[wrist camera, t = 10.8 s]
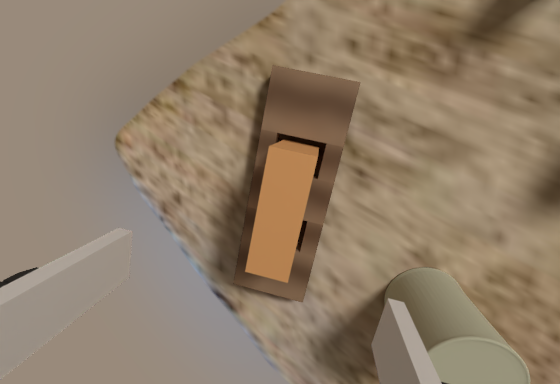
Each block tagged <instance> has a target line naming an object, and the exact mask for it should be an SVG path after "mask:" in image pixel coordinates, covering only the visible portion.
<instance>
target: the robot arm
mask: <svg viewBox="0 0 560 384" xmlns="http://www.w3.org/2000/svg"><path fill="white" fill-rule="evenodd" d="M131 245H132V231H130V230H126V229H122V228H117V229H115V230H113V231H112V232H109V233H107V234H106V235H104V236H102V237H100V238H98V239H96V240H94V241H92V242H90V243H88V244H86V245H84V246H82V247H80V248H78V249H76V250H74V251H72V252H70V253H68V254H66V255H64V256H62V257H60V258H58V259H56V260H54V261H53V262H50V263H48V264H46V265H44V266H42V267H41V268H37V267H36V268H33V269H30V270H26V271H23V272H20V273H17V274H15V275H13V276H11V277H9V278H7V279H5V280H4V281H3V282H0V379H2V378H3V377H4V376H6V375H7V374H8V373H9V372H11V371H12V370H13V369H15V368H16V367H17V366H18V365H20V364H21V363H22V362H23V361H25V360H26V359H27V358H28V357H30V356H31V355H32V354H33V353H35V352H36V351H37V350H38V349H40V348H41V347H42V346H44V345H45V344H46V343H47V342H49V341H50V340H51V339H52V338H54V337H55V336H56V335H57V334H59V333H60V332H61V331H62V330H64V329H65V328H66V327H68V326H69V325H70V324H71V323H72V322H74V321H75V320H76V319H78V318H79V317H80V316H81V315H83V314H84V313H85V312H86V311H88V310H89V309H90V308H91V307H92V306H94V305H95V304H96V303H98V302H99V301H100V300H101V299H103V298H104V297H105V296H107V295H108V294H109V293H110V292H112V291H113V290H114V289H115V288H117V287H118V286H119V285H120V284H122V283H123V282H124V281H125V280H127V279H128V278H129V276H130V260H131ZM371 346H372V350H373V355H374V359H375V364H376V368H377V373H378V377H379V382H380V384H448V383H444V382H441V381H440V379H439V376H438V374H437V372H436V370H435V368H434V366H433V364H432V361H431V359H430V357H429V355H428V353H427V351H426V348H425V346H424V344H423V342H422V340H421V338H420V336H419V333H418V331H417V329H416V327H415V325H414V323H413V320H412V318H411V316H410V314H409V312H408V310H407V308H406V305H405V303H404V302H401V301H397V300H393V299H389V298H388V299H387V302H386V304H385V307H384V310H383V313H382V316H381V319H380V321H379V324H378V327H377V330H376V333H375V335H374V338H373V341H372V344H371Z"/></svg>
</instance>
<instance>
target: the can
mask: <svg viewBox="0 0 560 384" xmlns="http://www.w3.org/2000/svg"><path fill="white" fill-rule="evenodd" d="M388 298H389V299H393V300H397V301H401V302H404V303H405V305H406V308H407V310H408V312H409V314H410V316H411V318H412V320H413V323H414V325H415V327H416V329H417V331H418V333H419V336H420V338H421V340H422V342H423V344H424V346H425V348H426V351H427V353H428V355H429V357H430V359H431V361H432V364H433V366H434V368H435V370H436V372H437V374H438V376H439V379H440V381H441V382H444V383H448V384H530V374H529V371H528V368H527V366H526V364H525V362H524V361H523V359H522V358H521V357H520V356H519V355H518V354H517V353H516V352H515V351H514V350H513V349H512V348H511V347H510V346H509V345H508V344H507V342H506V341H505V340H504V339H503V338H502V337H501V336H500V334H499V333H498V332H497V331H496V330H495V329H494V327H493V326H492V325H491V324H490V323H489V322H488V320H487V319H486V318H485V317H484V316H483V315H482V313H481V312H480V311H479V310H478V309H477V308H476V306H475V305H474V304H473V303H472V302H471V300H470V299H469V298H468V297H467V296H466V294H465V293H464V292H463V291H462V289H461V287H460V285H459V284H458V283H457V281H456V280H455V279H454V278H453V277H451V276H450V275H449V274H447V273H445V272H443V271H441V270H438V269H434V268H427V267H422V268H414V269H411V270H407V271H405V272H403V273H401V274H400V275H398V276H397V277H396V278H394V279H393V280H392V282H391V283H390V284H389V286H388V288H387V290H386V293H385V297H384V304H386V302H387V299H388Z"/></svg>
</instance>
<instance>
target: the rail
mask: <svg viewBox="0 0 560 384" xmlns="http://www.w3.org/2000/svg"><path fill="white" fill-rule="evenodd" d="M359 86H360V82H356V81H351V80H346V79H341V78H336V77H331V76H325V75H320V74H315V73H310V72H305V71H300V70H294V69H289V68H284V67H279V66H274V65H273V66H272V71H271V77H270V83H269V88H268V94H267V99H266V105H265V110H264V116H263V122H262V127H261V133H260V138H259V144H258V149H257V155H256V160H255V166H254V172H253V177H252V183H251V188H250V194H249V199H248V205H247V211H246V216H245V222H244V227H243V233H242V238H241V244H240V249H239V255H238V261H237V266H236V272H235V277H234V283H233V284H236V285H240V286H244V287H247V288H251V289H255V290H258V291H262V292H266V293H269V294H273V295H277V296H280V297H284V298H288V299H292V300H295V301H299V302H303V299H304V296H305V292H306V288H307V284H308V280H309V277H310V273H311V269H312V265H313V261H314V258H315V254H316V250H317V246H318V242H319V238H320V235H321V231H322V227H323V223H324V219H325V216H326V212H327V208H328V204H329V200H330V197H331V193H332V189H333V185H334V181H335V177H336V174H337V170H338V166H339V162H340V158H341V155H342V151H343V147H344V143H345V139H346V135H347V132H348V128H349V124H350V120H351V116H352V113H353V109H354V105H355V101H356V97H357V94H358V90H359ZM280 133H281V134H285V135H290V136H295V137H299V138H304V139H309V140H313V141H318V142H322V143H326V145H325V149H324V153H323V157H322V161H321V165H320V170H319V174H318V175H313V180H312V184H311V188H310V192H309V196H308V200H307V205H306V209H305V213H304V217H303V220H304V221H307V223H306V227H305V231H304V235H303V239H302V243H297V246H296V251H295V255H294V259H293V263H292V267H291V271H290V276H289V280H288V283H286V282H282V281H278V280H275V279H271V278H267V277H263V276H260V275H256V274H252V273H248V272H245V269H246V264H247V259H248V254H249V248H250V243H251V238H252V233H253V227H254V222H255V217H256V212H257V206H258V201H259V196H260V191H261V185H262V180H263V175H264V170H265V164H266V159H267V154H268V149H269V146H270V145H273V144H275V143H277V142H279V137H280Z"/></svg>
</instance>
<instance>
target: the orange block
mask: <svg viewBox="0 0 560 384" xmlns="http://www.w3.org/2000/svg"><path fill="white" fill-rule="evenodd" d="M318 152H319V146H315V145H310V144H305V143H301V142H296V141H292V140H287V139H285V140H282V141H280V142H277V143H275V144H273V145H270V146H269V149H268V154H267V159H266V164H265V170H264V175H263V180H262V185H261V191H260V196H259V201H258V206H257V212H256V217H255V222H254V227H253V233H252V238H251V243H250V248H249V254H248V259H247V264H246V269H245V272H248V273H252V274H256V275H260V276H263V277H267V278H271V279H275V280H278V281H282V282H286V283H288V280H289V276H290V271H291V267H292V263H293V259H294V255H295V251H296V246H297V242H298V238H299V234H300V230H301V226H302V221H303V217H304V213H305V209H306V205H307V200H308V196H309V192H310V188H311V184H312V180H313V175H314V171H315V167H316V163H317V159H318Z"/></svg>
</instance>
